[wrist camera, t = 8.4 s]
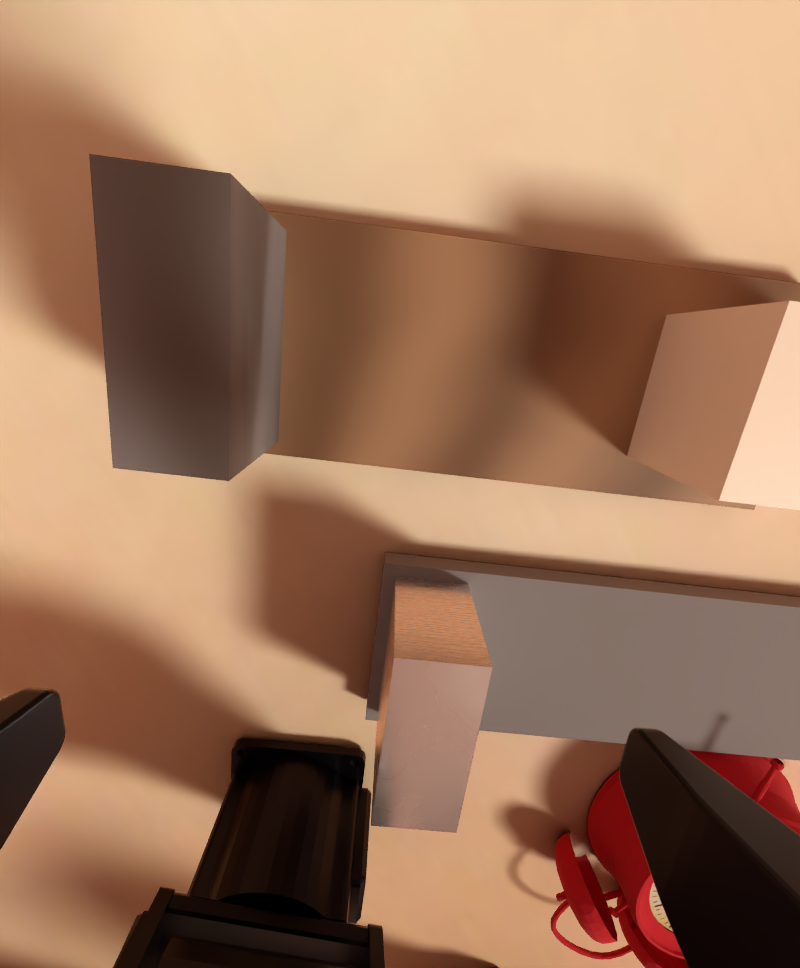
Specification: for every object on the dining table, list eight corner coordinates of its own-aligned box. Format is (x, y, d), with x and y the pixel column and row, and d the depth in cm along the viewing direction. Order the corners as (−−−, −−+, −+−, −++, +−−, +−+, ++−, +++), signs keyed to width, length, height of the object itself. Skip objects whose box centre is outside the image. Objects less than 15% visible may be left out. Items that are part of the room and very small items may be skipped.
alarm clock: (918, 865, 20) (708, 1123, 20) (780, 762, 26) (620, 959, 26) (777, 750, 18) (545, 1037, 18) (664, 668, 24) (491, 882, 24)
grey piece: (367, 702, 21) (355, 834, 16) (385, 552, 19) (379, 642, 13) (806, 744, 22) (949, 884, 16) (877, 605, 20) (1073, 712, 14)
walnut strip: (195, 438, 17) (94, 484, 12) (191, 207, 15) (63, 122, 9) (735, 501, 18) (889, 572, 12) (811, 291, 16) (1044, 261, 10)
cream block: (626, 456, 17) (718, 500, 12) (666, 314, 15) (790, 300, 10) (755, 471, 17) (896, 521, 12) (806, 333, 15) (991, 327, 11)
